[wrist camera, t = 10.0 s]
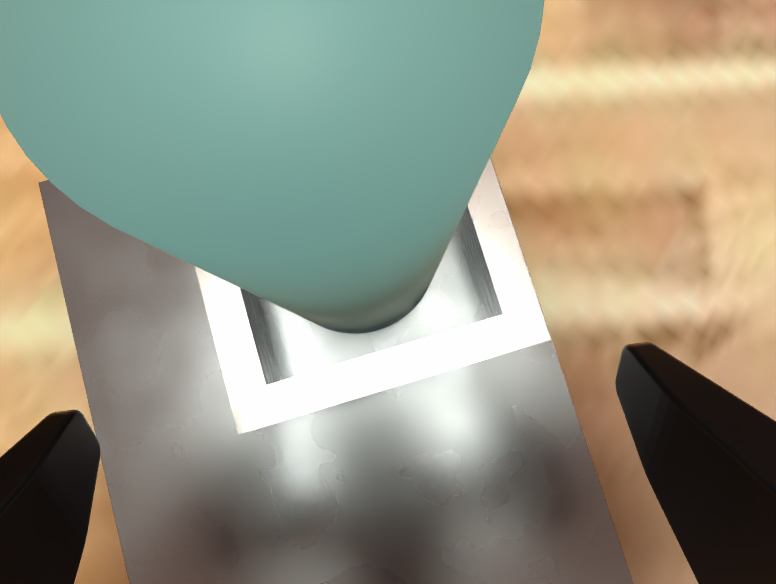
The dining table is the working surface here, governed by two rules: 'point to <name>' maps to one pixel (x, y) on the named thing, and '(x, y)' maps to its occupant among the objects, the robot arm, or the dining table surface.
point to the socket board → (333, 422)
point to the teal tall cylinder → (273, 132)
